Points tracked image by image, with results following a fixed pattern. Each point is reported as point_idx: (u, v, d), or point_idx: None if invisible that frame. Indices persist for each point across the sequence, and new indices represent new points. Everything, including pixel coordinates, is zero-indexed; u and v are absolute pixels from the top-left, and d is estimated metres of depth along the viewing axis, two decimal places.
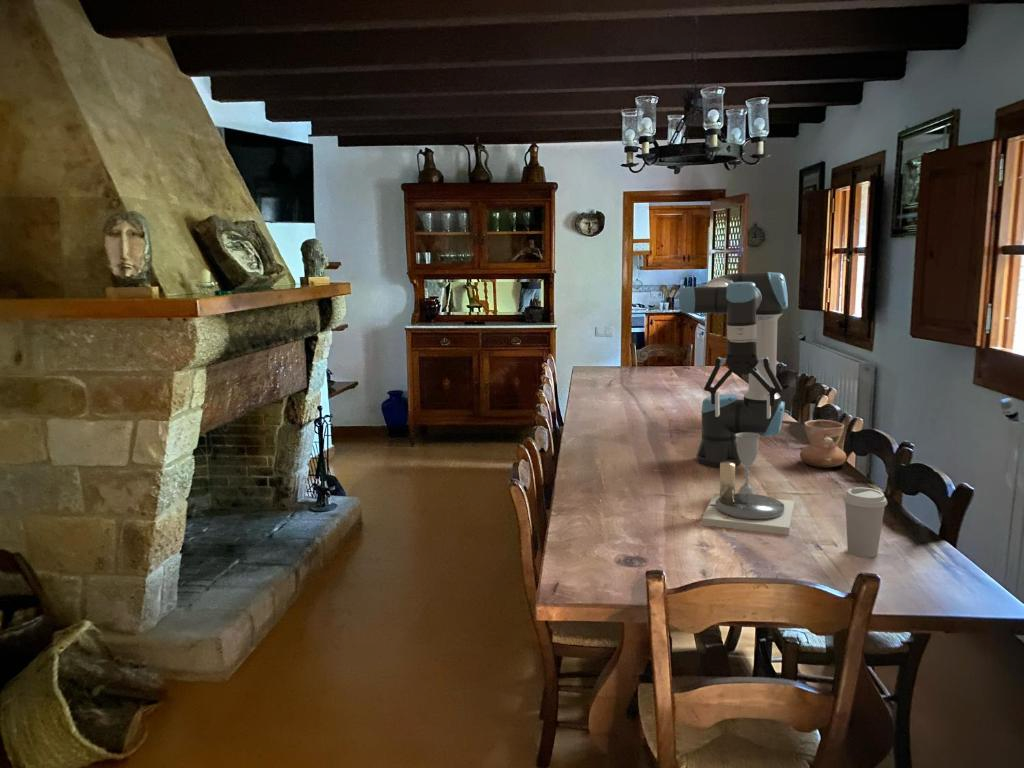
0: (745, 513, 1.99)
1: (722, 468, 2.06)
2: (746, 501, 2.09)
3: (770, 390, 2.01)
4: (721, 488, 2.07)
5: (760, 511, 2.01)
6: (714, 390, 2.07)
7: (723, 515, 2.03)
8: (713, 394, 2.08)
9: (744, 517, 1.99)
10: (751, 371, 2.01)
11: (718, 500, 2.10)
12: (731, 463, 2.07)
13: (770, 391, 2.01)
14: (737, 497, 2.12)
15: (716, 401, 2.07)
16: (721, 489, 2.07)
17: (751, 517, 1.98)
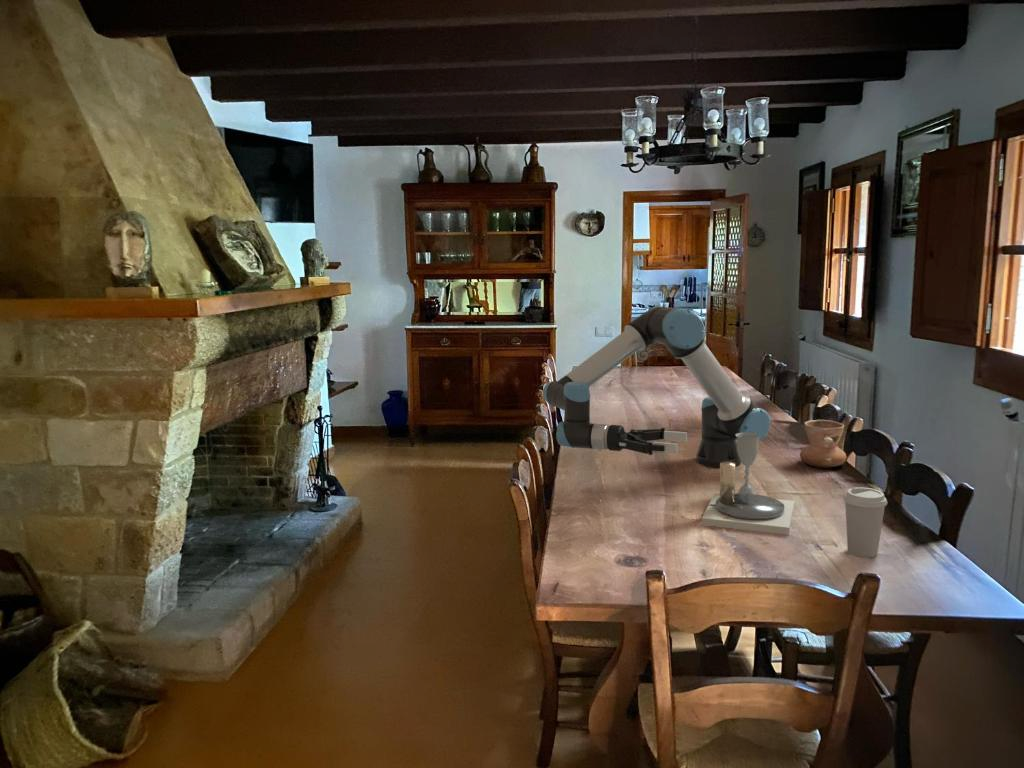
0: (745, 513, 1.99)
1: (722, 468, 2.06)
2: (746, 501, 2.09)
3: None
4: (721, 488, 2.07)
5: (760, 511, 2.01)
6: None
7: (723, 515, 2.03)
8: None
9: (744, 517, 1.99)
10: None
11: (718, 500, 2.10)
12: (731, 463, 2.07)
13: None
14: (737, 497, 2.12)
15: None
16: (721, 489, 2.07)
17: (751, 517, 1.98)
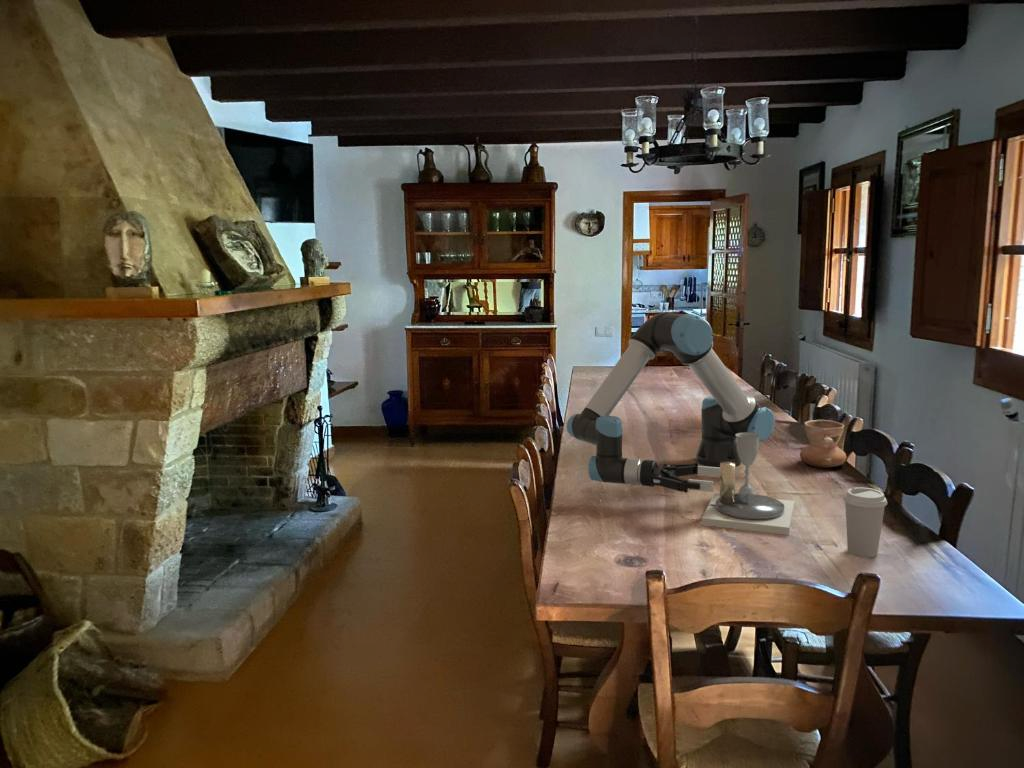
0: (745, 513, 1.99)
1: (722, 468, 2.06)
2: (746, 501, 2.09)
3: None
4: (721, 488, 2.07)
5: (760, 511, 2.01)
6: None
7: (723, 515, 2.03)
8: None
9: (744, 517, 1.99)
10: None
11: (718, 500, 2.10)
12: (731, 463, 2.07)
13: None
14: (737, 497, 2.12)
15: None
16: (721, 489, 2.07)
17: (751, 517, 1.98)
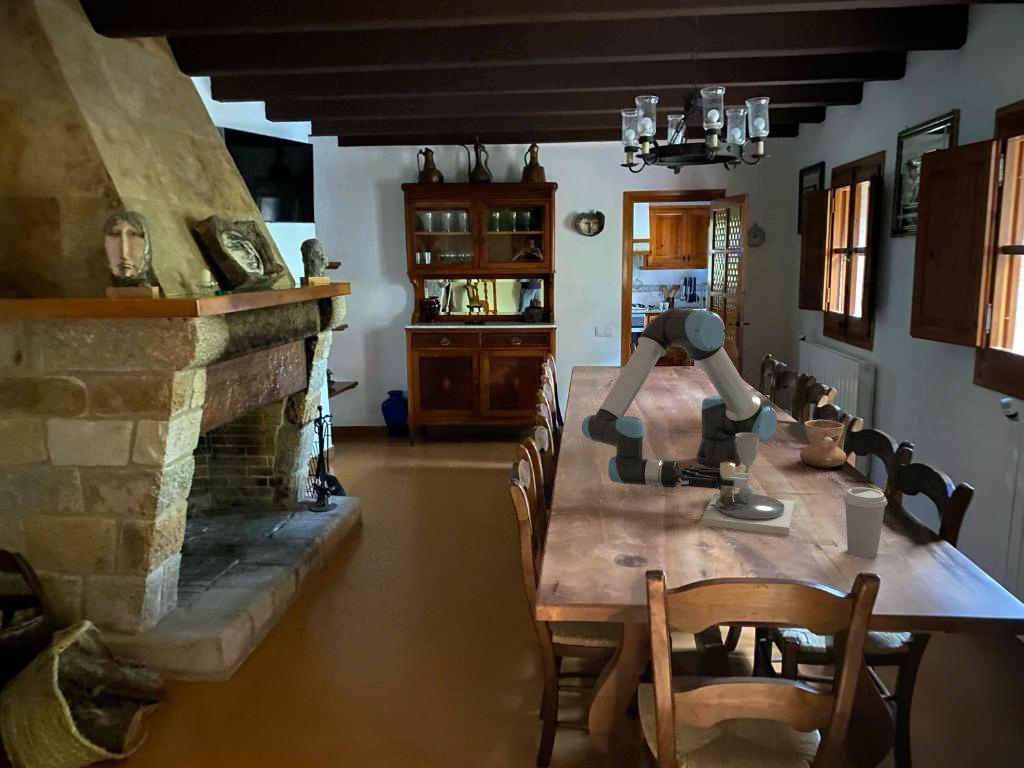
0: (745, 513, 1.99)
1: (722, 468, 2.06)
2: (746, 501, 2.09)
3: None
4: (721, 488, 2.07)
5: (760, 511, 2.01)
6: None
7: (723, 515, 2.03)
8: None
9: (744, 517, 1.99)
10: None
11: (718, 500, 2.10)
12: (731, 463, 2.07)
13: None
14: (737, 497, 2.12)
15: None
16: (721, 489, 2.07)
17: (751, 517, 1.98)
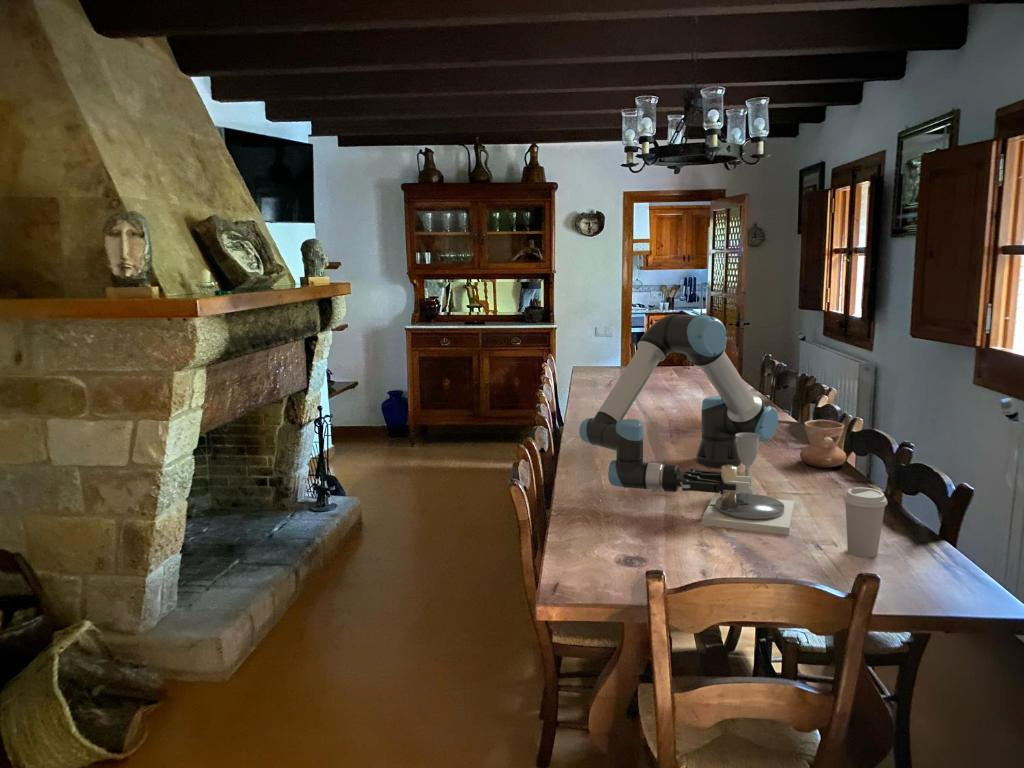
0: (762, 513, 1.99)
1: (728, 472, 2.02)
2: (742, 502, 2.08)
3: None
4: (726, 493, 2.03)
5: (769, 508, 2.02)
6: None
7: (723, 515, 2.03)
8: None
9: (763, 518, 1.98)
10: None
11: (719, 505, 2.06)
12: (732, 466, 2.04)
13: None
14: None
15: None
16: (725, 493, 2.04)
17: (769, 516, 1.98)
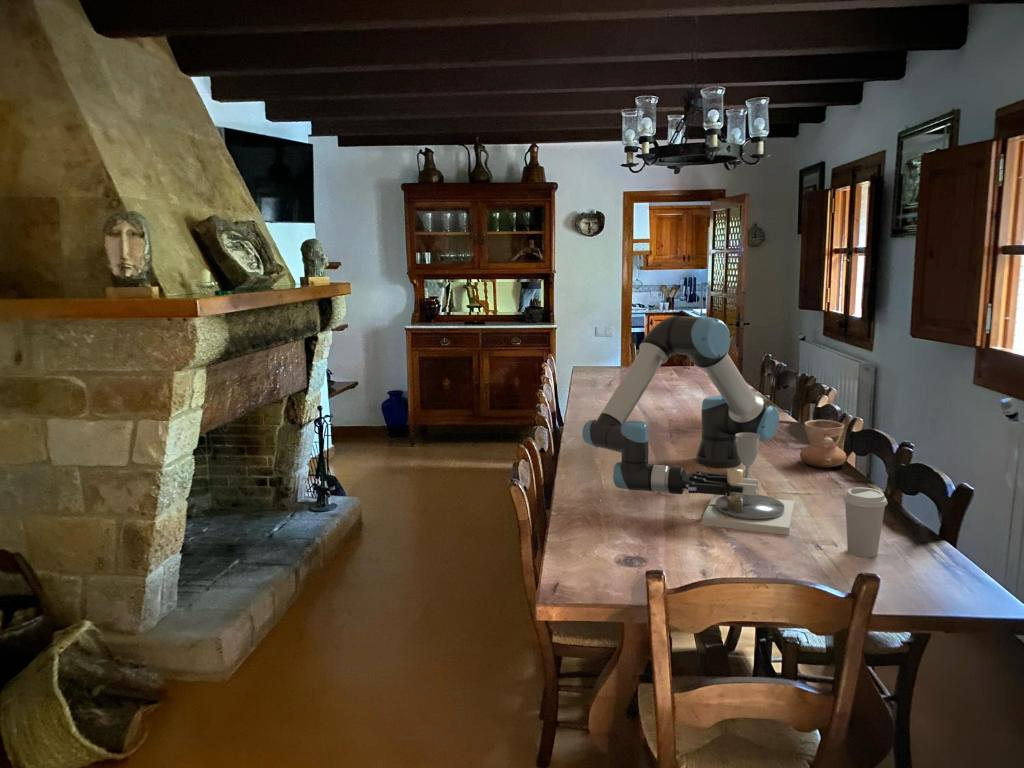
0: (773, 512, 2.00)
1: (737, 474, 2.00)
2: None
3: None
4: (735, 496, 2.01)
5: (772, 506, 2.04)
6: None
7: (723, 515, 2.03)
8: None
9: (775, 515, 1.99)
10: None
11: (727, 509, 2.02)
12: (736, 468, 2.02)
13: None
14: (727, 502, 2.08)
15: None
16: (735, 496, 2.01)
17: (780, 513, 2.00)
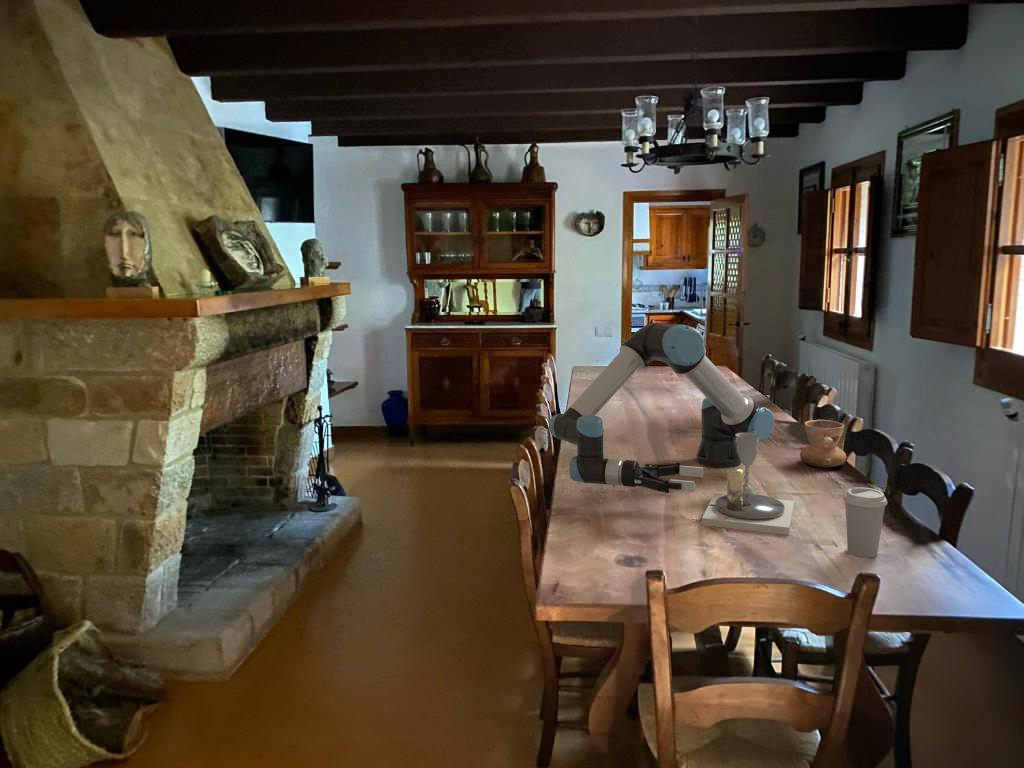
0: (773, 512, 2.00)
1: (737, 474, 2.00)
2: None
3: None
4: (735, 496, 2.01)
5: (772, 506, 2.04)
6: None
7: (723, 515, 2.03)
8: None
9: (776, 515, 1.99)
10: None
11: (727, 510, 2.02)
12: (736, 468, 2.02)
13: None
14: (727, 502, 2.08)
15: None
16: (735, 496, 2.01)
17: (780, 513, 2.00)
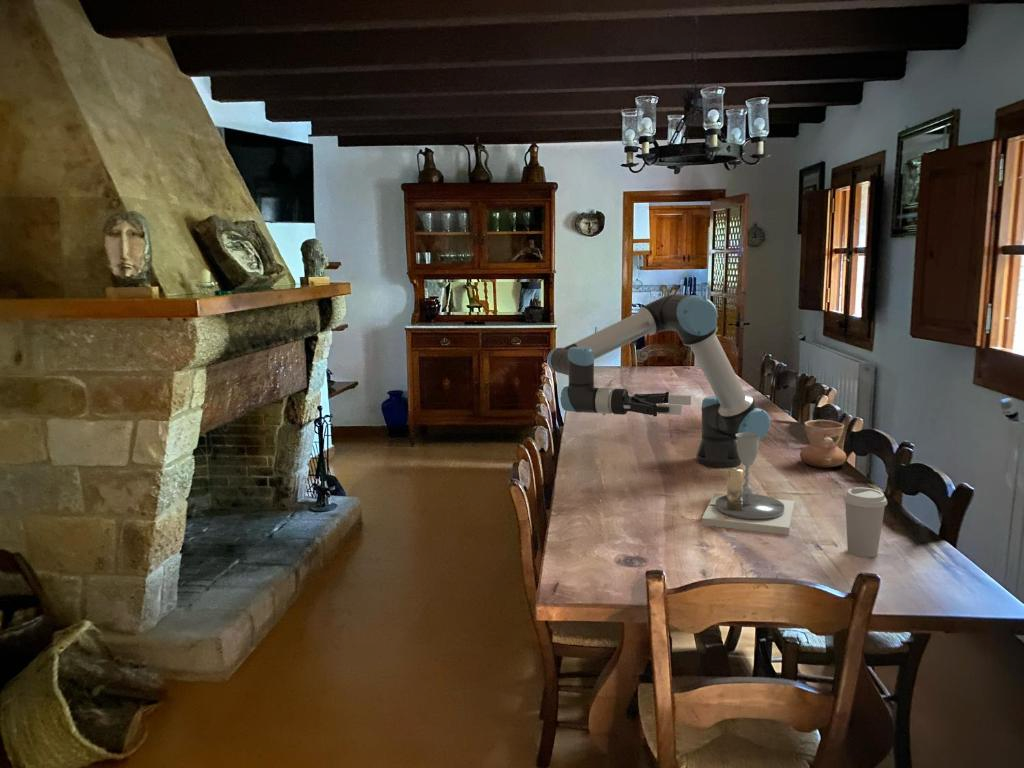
0: (773, 512, 2.00)
1: (737, 474, 2.00)
2: None
3: None
4: (735, 496, 2.01)
5: (772, 506, 2.04)
6: (665, 402, 2.20)
7: (723, 515, 2.03)
8: None
9: (776, 515, 1.99)
10: None
11: (727, 510, 2.02)
12: (736, 468, 2.02)
13: None
14: (727, 502, 2.08)
15: None
16: (735, 496, 2.01)
17: (780, 513, 2.00)
